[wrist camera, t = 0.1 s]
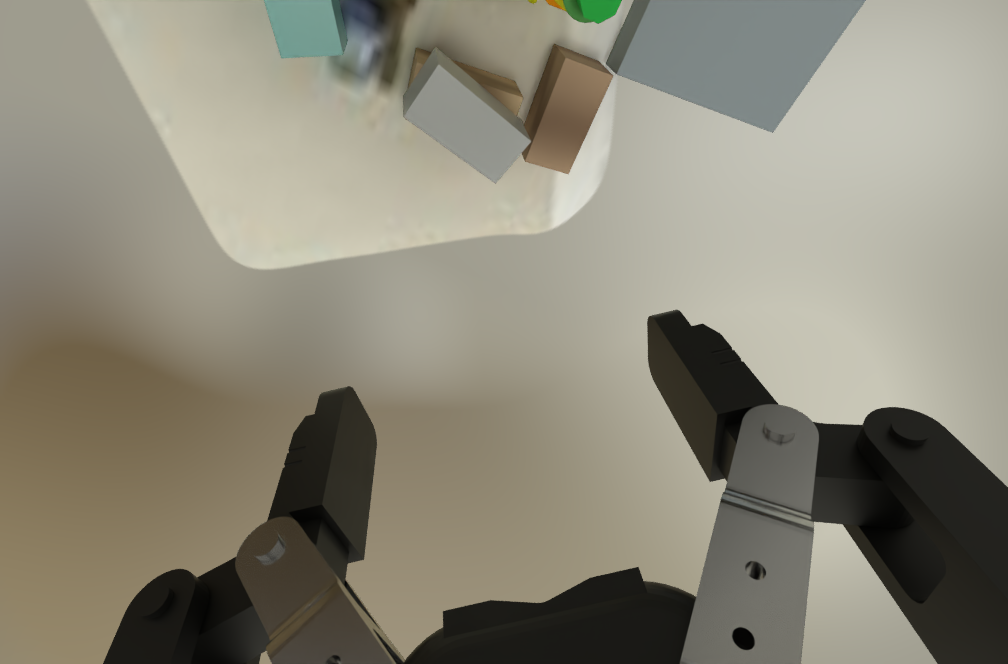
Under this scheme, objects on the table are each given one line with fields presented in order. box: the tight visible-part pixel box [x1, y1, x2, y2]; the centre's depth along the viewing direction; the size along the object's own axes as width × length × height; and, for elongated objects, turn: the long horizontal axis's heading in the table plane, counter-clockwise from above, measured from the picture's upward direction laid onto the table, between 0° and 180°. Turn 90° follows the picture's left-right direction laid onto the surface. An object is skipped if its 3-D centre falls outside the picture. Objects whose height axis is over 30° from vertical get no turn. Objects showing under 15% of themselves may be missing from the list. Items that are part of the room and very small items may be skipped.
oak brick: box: [405, 48, 523, 120], centre depth 28 cm, size 6×3×3 cm, turn 70°
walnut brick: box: [522, 44, 613, 174], centre depth 29 cm, size 6×3×3 cm, turn 160°
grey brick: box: [403, 47, 531, 184], centre depth 26 cm, size 6×3×3 cm, turn 49°
